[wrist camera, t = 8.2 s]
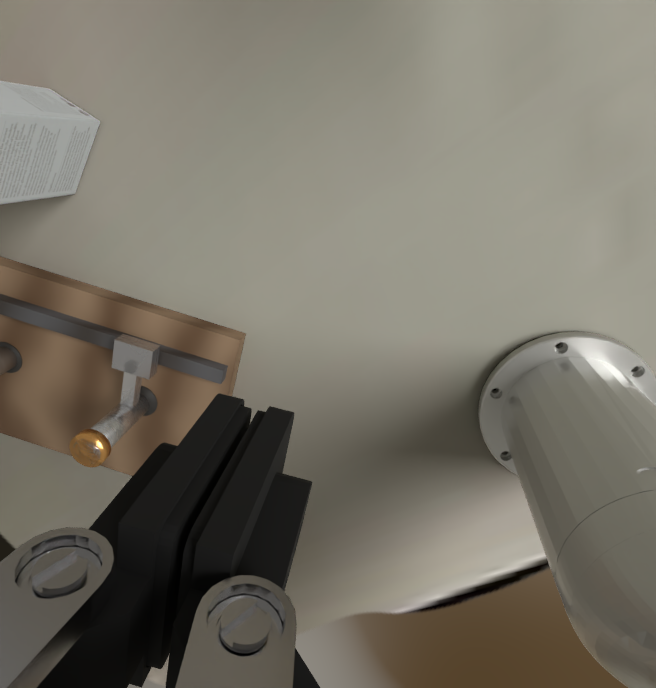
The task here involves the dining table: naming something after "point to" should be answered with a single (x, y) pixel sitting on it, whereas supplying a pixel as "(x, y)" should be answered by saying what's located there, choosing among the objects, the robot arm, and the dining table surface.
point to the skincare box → (41, 143)
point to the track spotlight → (136, 364)
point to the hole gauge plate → (101, 364)
